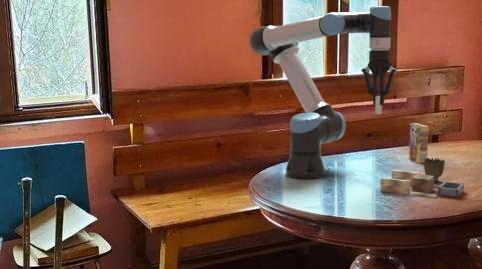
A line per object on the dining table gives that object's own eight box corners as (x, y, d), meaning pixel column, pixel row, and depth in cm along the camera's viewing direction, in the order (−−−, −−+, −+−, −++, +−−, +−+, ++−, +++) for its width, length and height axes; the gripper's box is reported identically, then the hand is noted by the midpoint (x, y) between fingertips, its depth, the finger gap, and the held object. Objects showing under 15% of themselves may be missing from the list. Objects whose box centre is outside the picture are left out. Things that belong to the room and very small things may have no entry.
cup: (441, 184, 224) (441, 163, 223) (420, 182, 228) (421, 160, 226) (446, 180, 230) (447, 158, 229) (426, 177, 234) (427, 156, 233)
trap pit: (437, 195, 211) (438, 187, 210) (444, 189, 218) (444, 181, 218) (457, 198, 208) (458, 189, 207) (463, 191, 215) (463, 183, 215)
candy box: (428, 162, 258) (429, 126, 255) (418, 163, 257) (419, 126, 254) (417, 158, 266) (418, 122, 263) (408, 158, 265) (409, 123, 262)
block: (411, 191, 217) (411, 177, 216) (416, 187, 222) (417, 173, 221) (428, 193, 214) (429, 179, 213) (433, 189, 219) (434, 175, 218)
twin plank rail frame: (380, 190, 218) (380, 178, 217) (392, 181, 230) (393, 169, 229) (435, 197, 208) (436, 184, 208) (445, 187, 220) (446, 175, 219)
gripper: (359, 49, 227) (358, 114, 232) (394, 50, 221) (392, 116, 225) (366, 48, 233) (365, 111, 238) (400, 49, 227) (398, 113, 231)
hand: (378, 113), depth 231 cm, fingers closed
